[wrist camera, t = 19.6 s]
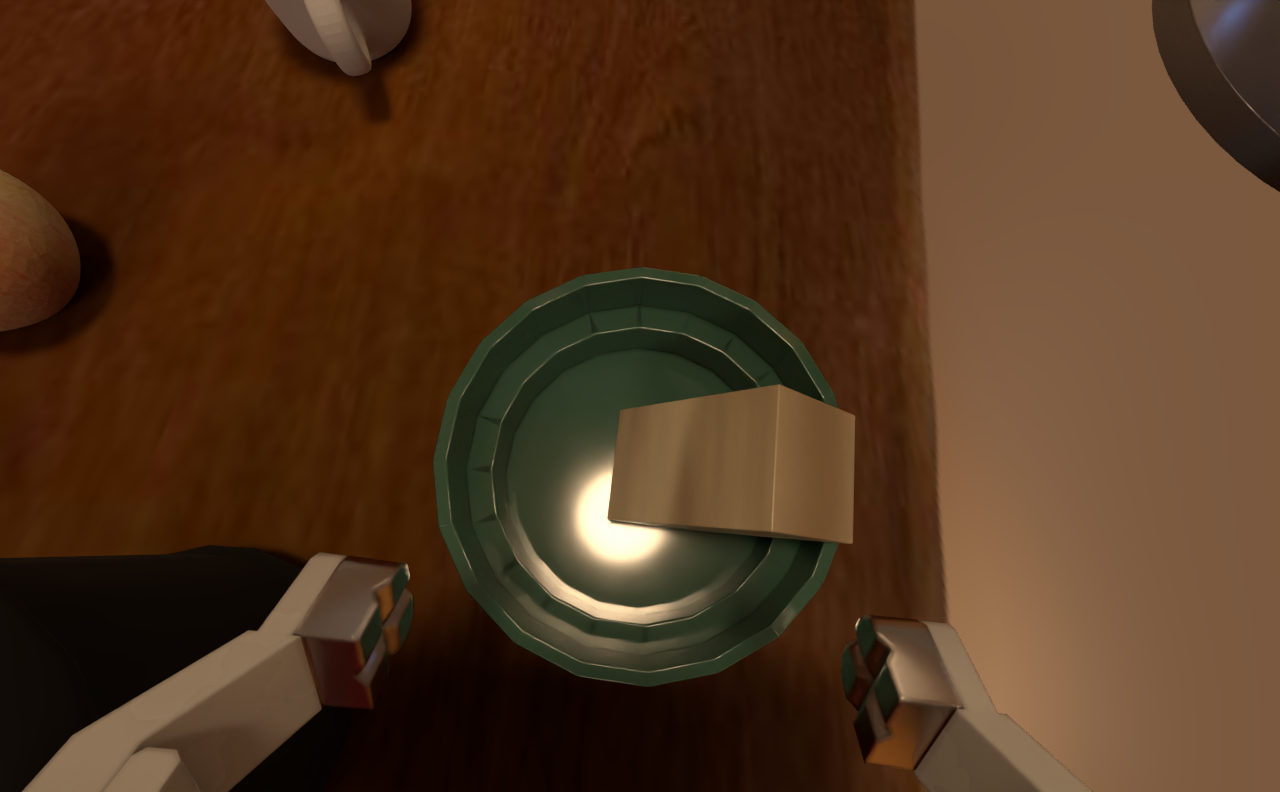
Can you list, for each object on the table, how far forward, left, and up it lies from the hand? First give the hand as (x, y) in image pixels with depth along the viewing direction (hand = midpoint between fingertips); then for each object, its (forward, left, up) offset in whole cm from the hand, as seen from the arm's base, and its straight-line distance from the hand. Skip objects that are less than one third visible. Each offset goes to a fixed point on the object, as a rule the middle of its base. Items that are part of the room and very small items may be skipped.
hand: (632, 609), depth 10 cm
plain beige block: (-2, -4, -14) cm, 14 cm away
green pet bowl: (-1, -4, -16) cm, 16 cm away
